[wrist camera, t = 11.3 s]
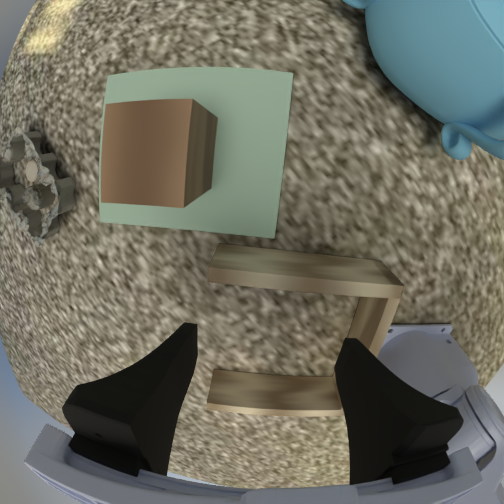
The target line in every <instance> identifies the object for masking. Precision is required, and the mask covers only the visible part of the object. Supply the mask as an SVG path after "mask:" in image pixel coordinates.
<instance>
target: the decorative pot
mask: <svg viewBox="0 0 504 504" xmlns="http://www.w3.org/2000/svg"><path fill="white" fill-rule="evenodd" d="M342 1H343V2H345V3H346V4H348V5H350V6H352V7H354V8H358V9H365V19H366V30H367V35H368V40H369V45H370V47H371V50H372V53H373V56H374V58H375V60H376V61H377V63H378V65H379V67H380V68H381V70H382V71H383V73H384V74H385V75H386V77H387V78H388V79H389V80H390V81H391V82H392V83H393V84H394V85H395V86H396V87H397V88H398V89H399V90H400V91H401V92H402V93H403V94H405V95H406V96H407V97H408V98H409V99H411V100H412V101H413V102H414V103H415V104H417V105H418V106H419V107H420V108H422V109H423V110H424V111H426V112H427V113H428V114H430V115H431V116H433V117H434V118H436V119H437V120H438V121H440V122H442V123H444V126H443V128H442V131H441V142H442V146H443V149H444V150H445V152H446V153H447V154H448V155H449V156H451V157H452V158H454V159H457V160H463V159H466V158H467V157H468V156H469V154H470V152H471V146H472V144H471V141H472V142H474V143H475V144H476V145H478V146H479V147H481V148H482V149H484V150H485V151H487V152H488V153H490V154H492V155H493V156H495V157H498V158H500V159H503V160H504V140H502V141H501V139H504V0H342Z"/></svg>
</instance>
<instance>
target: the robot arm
mask: <svg viewBox="0 0 504 504" xmlns="http://www.w3.org/2000/svg"><path fill="white" fill-rule="evenodd" d="M452 328H453V326H452V325H451V324H431V325H390V327H389V330H390V329H391V330H390V331H389V330H388V332H387V335H386V337H385V340H384V342H383V344H382V347H381V349H380V351H379V353H378V356H377V358H376V357H375V356H374V355H373V354H372V353H371V352H370V351H369V350H368V349H367V348H366V347H365V346H364V345H363V344H362V343H361V342H360V341H359V340H358V339H357V338H345V340H344V343H343V346H342V349H341V352H340V354H339V357H338V360H337V362H336V365H335V367H334V368H335V377H336V385H337V389H338V392H339V396H340V400H341V404H342V407H343V411H344V415H345V419H346V424H347V431H348V440H349V453H350V485H349V484H348V485H332V486H321V487H304V488H261V489H244V488H233V487H224V486H216V485H208V484H203V483H197V482H191V481H186V480H181V479H176V478H172V477H168V476H167V471H168V464H169V458H170V453H171V447H172V442H173V438H174V433H175V428H176V424H177V420H178V415H179V412H180V409H181V406H182V403H183V401H184V398H185V395H186V393H187V390H188V387H189V384H190V382H191V379H192V376H193V374H194V370H195V365H196V361H197V356H198V348H197V324H193V323H186V322H185V323H183V324H182V325H181V326H180V327H179V328H178V329H177V330H176V331H175V332H174V333H173V334H172V335H171V336H170V337H169V338H168V339H166V340H165V341H164V342H163V343H162V344H161V345H160V346H158V347H157V348H156V349H155V350H153V351H152V352H151V353H149V354H148V355H147V356H145V357H144V358H143V359H141V360H140V361H138V362H136V363H135V364H133V365H131V366H129V367H127V368H125V369H123V370H121V371H119V372H117V373H115V374H113V375H110V376H108V377H105V378H102V379H99V380H96V381H92V382H88V383H85V384H80V385H77V386H76V387H75V389H74V390H73V391H72V393H71V394H70V396H69V397H68V399H67V401H66V402H65V404H64V405H63V407H62V410H63V414H64V416H65V418H66V419H67V421H68V423H69V424H70V426H71V427H72V429H73V430H74V432H75V434H74V436H73V438H72V437H71V436H69V435H68V434H66V433H64V432H63V431H61V430H59V429H57V428H55V427H53V426H51V425H49V424H46V425H45V426H44V428H43V429H42V431H41V433H40V435H39V436H38V438H37V439H36V441H35V443H34V445H33V446H32V448H31V450H30V451H29V453H28V455H27V457H26V459H25V460H24V463H25V464H26V465H27V466H28V467H29V468H30V469H31V470H32V471H34V472H35V473H36V474H37V475H38V476H39V477H40V478H41V479H43V480H44V481H45V482H46V483H48V484H49V485H50V486H51V487H53V488H55V489H56V490H58V491H60V492H62V493H64V494H65V495H67V496H69V497H71V498H73V499H75V500H77V501H78V502H80V503H82V504H504V488H503V486H502V484H501V483H500V481H501V479H502V478H503V476H504V416H503V415H502V413H501V411H500V410H499V408H498V406H497V405H496V403H495V402H494V401H493V399H492V398H491V397H490V395H489V394H488V393H487V392H486V391H485V389H484V388H483V387H481V386H480V385H479V380H478V373H477V370H476V368H475V366H474V364H473V363H472V361H471V360H470V359H469V357H468V356H467V355H466V353H465V352H464V351H463V350H462V348H461V347H460V346H459V345H458V343H457V342H456V341H455V340H454V338H453V337H452V336H451V335H450V333H451V331H452Z"/></svg>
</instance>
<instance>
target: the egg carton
mask: <svg viewBox="0 0 504 504" xmlns="http://www.w3.org/2000/svg"><path fill="white" fill-rule="evenodd" d="M11 136H12V137H11V139H10V141H9V142H8V143H7V144H6V145H5V149H7V151H6V153H5V156H4V157H2V158H0V200H2V201H3V203H4V205H5V208H6V210H7V211H9V212H10V213H11V214H12V216H13V217H14V218H15V220H16V222H17V224H18V226H19V227H20V228H21V229H22V230H23V231H24V232H25V233H27V234H28V235H29V237H30V238H32V240H33V241H34V243H35V245H36V247H39V246H40V245H41V244H43V242H44V240H45V238H47V237H49V236H51V235H53V234H55V233H57V232H58V230H59V229H60V225H59V223H58V219H57V215H58V214H62V213H64V212H67V211H70V210H72V208H73V207H74V206H75V204H76V202H75V200H74V195H73V191H74V187H75V183H74V181H73V180H72V179H71V177H68V178H64V179H59V178H58V177H57V175H56V172H55V166H56V162H57V158H56V156H55V155H54V154H53V153H47V154H41V151H40V141H41V139H42V136H41V134H40V133H39V131H34V132H25V133H24V132H23V131H22V129H21V128H19V127H18V126H17V128H16V129H15V130H14V132H13V133H12V134H11ZM24 141H25V142H24ZM25 151H26V154H27V155H28V157H27V159H33V158H36V159H37V162H36V161H35V160H30V161H29V162H28V163H27V165H26V177H27V179H28V180H29V181H30V182H34V181H36V179H37V177H38V176H39V177H40V179H39V182H40V183H41V184H37V185H33V186H30V187H28V188H27V189H26V190H25V188H24V186H23V185H22V184H17V185H15V184H14V182H13V176H14V172H13V167H12V164H13V162H15V161H20V160H22V159H23V157H24V155H25ZM38 160H41V161H40V162H38ZM55 194H56V195H57V196H58V203H57V205H56V206H55V207H54V208H53V210H52V211H50V212H49V213H46V214H44V215H43V217H41V213H40V210H39V209H42V208H44V207H47V206H49V205H51V204H52V203H53V202H54V199H55ZM47 208H48V207H47ZM47 208H46V209H47ZM41 222H43V223H42V226H41Z"/></svg>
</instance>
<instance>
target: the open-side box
mask: <svg viewBox="0 0 504 504" xmlns="http://www.w3.org/2000/svg"><path fill="white" fill-rule="evenodd" d="M208 282H212V283H220V284H229V285H238V286H247V287H256V288H266V289H276V290H287V291H298V292H309V293H321V294H334V295H347V296H360V300H359V303H358V306H357V309H356V313H355V316H354V319H353V322H352V325H351V328H350V331H349V334H348V337H347V338H357V339H358V340H359V341H360V342H361V343H362V344H363V345H364V346H365V347H366V348H367V349H368V350H369V351H370V352H371V353H372V354H373V355H374V356H375V357H376V358H377V356H378V353H379V351H380V349H381V347H382V344H383V342H384V340H385V337H386V335H387V332H388V330H389V327H390V325H391V322H392V320H393V317H394V315H395V312H396V309H397V306H398V304H399V301H400V298H401V295H402V292H403V289H404V285H403V284H402V283H401V282H400V280H399V279H398V278H397V277H396V276H395V275H394V274H393V273H392V272H391V271H390V270H389V269H388V268H387V267H386V266H385V265H384V264H383V263H382V261H376V260H368V259H359V258H350V257H341V256H332V255H323V254H314V253H305V252H295V251H286V250H277V249H268V248H258V247H249V246H240V245H230V244H221V243H219V245H218V247H217V249H216V252H215V254H214V256H213V258H212V260H211V262H210V264H209V267H208ZM207 409H210V410H217V411H225V412H234V413H244V414H255V415H270V416H342V415H344V411H343V407H342V404H341V400H340V396H339V392H338V389H337V385H336V377H335V371H334V374H333V376H332V377H308V376H284V375H268V374H256V373H245V372H236V371H227V370H219V369H214V371H213V376H212V380H211V385H210V390H209V395H208V399H207Z"/></svg>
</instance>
